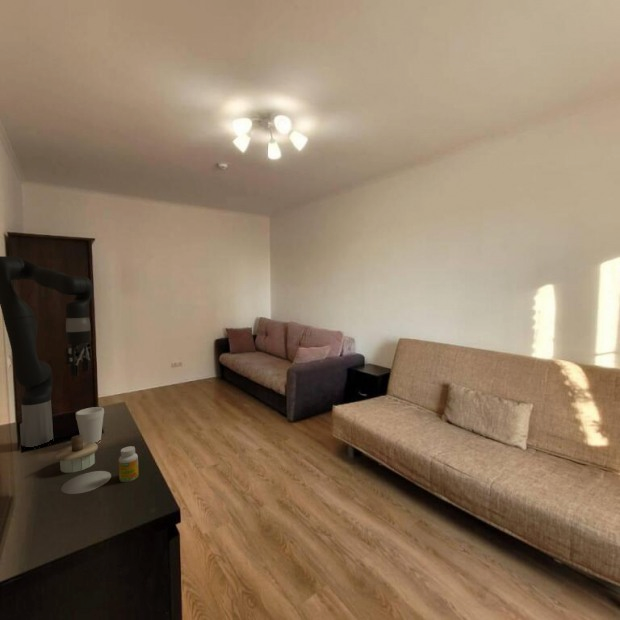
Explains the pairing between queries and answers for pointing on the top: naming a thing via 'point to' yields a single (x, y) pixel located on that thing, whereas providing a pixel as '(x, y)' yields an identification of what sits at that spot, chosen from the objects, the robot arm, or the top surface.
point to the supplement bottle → (128, 464)
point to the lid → (77, 449)
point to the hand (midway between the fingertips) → (80, 373)
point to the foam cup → (90, 423)
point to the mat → (86, 482)
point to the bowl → (77, 464)
